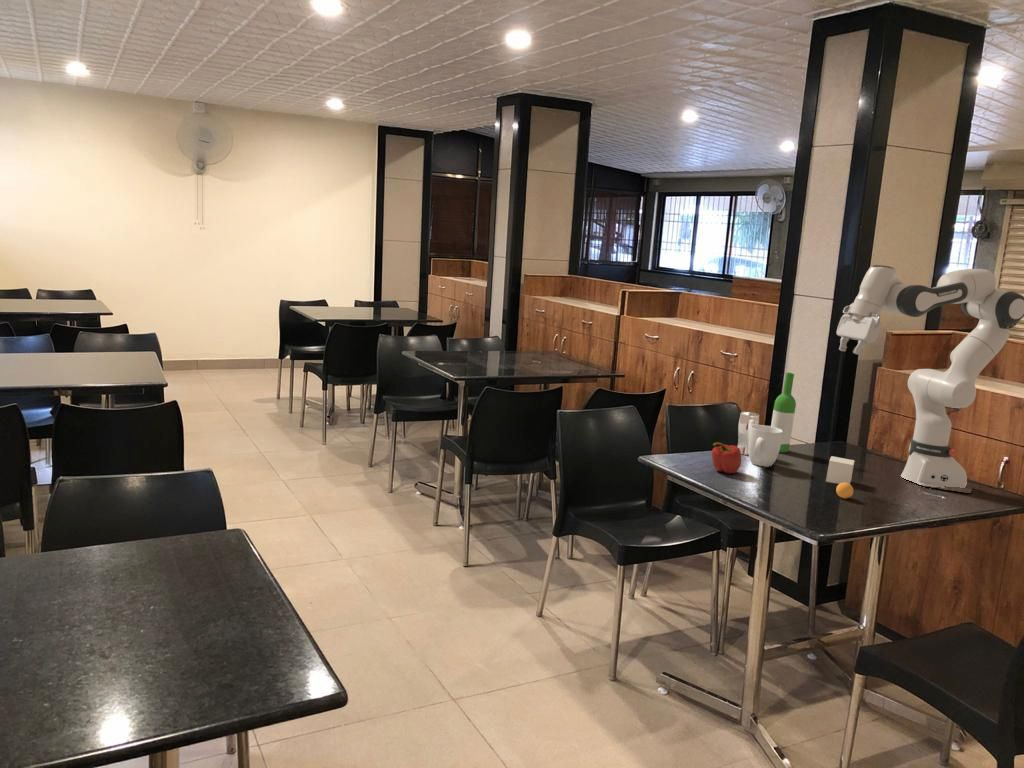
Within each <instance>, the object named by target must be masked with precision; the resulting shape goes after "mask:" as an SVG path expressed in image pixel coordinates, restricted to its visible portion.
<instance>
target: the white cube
mask: <svg viewBox="0 0 1024 768" xmlns="http://www.w3.org/2000/svg"><path fill="white" fill-rule="evenodd" d="M854 465H855V460H854V459H848V458H843V457H838V456H832V455H831V456H830V458H829V461H828V467H827V473H826V479H825V482H826V483H831V484H836V485H839V484H840V483H843V482H846V483H849V484H850V485H851V482H852V476H853V471H854Z"/></svg>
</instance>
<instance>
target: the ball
mask: <svg viewBox="0 0 1024 768" xmlns="http://www.w3.org/2000/svg"><path fill="white" fill-rule="evenodd" d="M835 490H836V491H835V492H836V495H837V496H839V498H842V499H849V498H851V497H852V496H853V494H854V487H853V486H852V484H851V483H850V484H849V483H846V482H843V483H840V484H837V485H836V489H835Z"/></svg>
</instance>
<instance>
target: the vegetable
mask: <svg viewBox="0 0 1024 768" xmlns="http://www.w3.org/2000/svg"><path fill="white" fill-rule="evenodd" d="M712 446H713V448H712V451H711V457H712V464H713V467H714V468H715V470H716V471H718V472H720V473H721V472H722V473H723V472H724V473H725V474H735V473H737V472H738V471H739V469H740V468H741V466H742V465H741V464H742V454H741V452H740V449H739V448H738V447H737V446H738V445H734V444H733V445H732V444H731V445H728V444H723V443H722V442H718V441H717V442H714V443H713V444H712Z"/></svg>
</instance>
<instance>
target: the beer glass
mask: <svg viewBox="0 0 1024 768" xmlns="http://www.w3.org/2000/svg"><path fill="white" fill-rule="evenodd" d="M739 415H740V416H739V420H738V427H737V429H738V430H737V435H738V438H737V439H738V442H737V445H736V446H737V447H738V448H739V449H740V452H741V455H742V454H744V455H743V456H749V452H748V442H749V434H750V428H751V426H752V425H760V424H759V421H760V414H758V413H755V412H750V411H741V412H740V414H739Z"/></svg>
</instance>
